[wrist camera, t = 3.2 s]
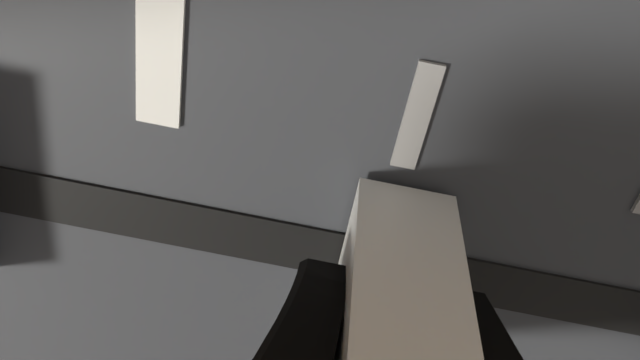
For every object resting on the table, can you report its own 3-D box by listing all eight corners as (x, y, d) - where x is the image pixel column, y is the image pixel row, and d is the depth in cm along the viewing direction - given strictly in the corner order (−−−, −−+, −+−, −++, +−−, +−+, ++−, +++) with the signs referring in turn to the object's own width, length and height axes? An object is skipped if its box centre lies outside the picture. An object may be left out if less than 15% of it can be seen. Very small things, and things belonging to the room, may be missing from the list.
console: (570, 472, 17) (608, 613, 14) (17, 367, 17) (-61, 488, 14) (1038, -164, 8) (1404, -138, 5) (-119, -406, 8) (-414, -522, 5)
